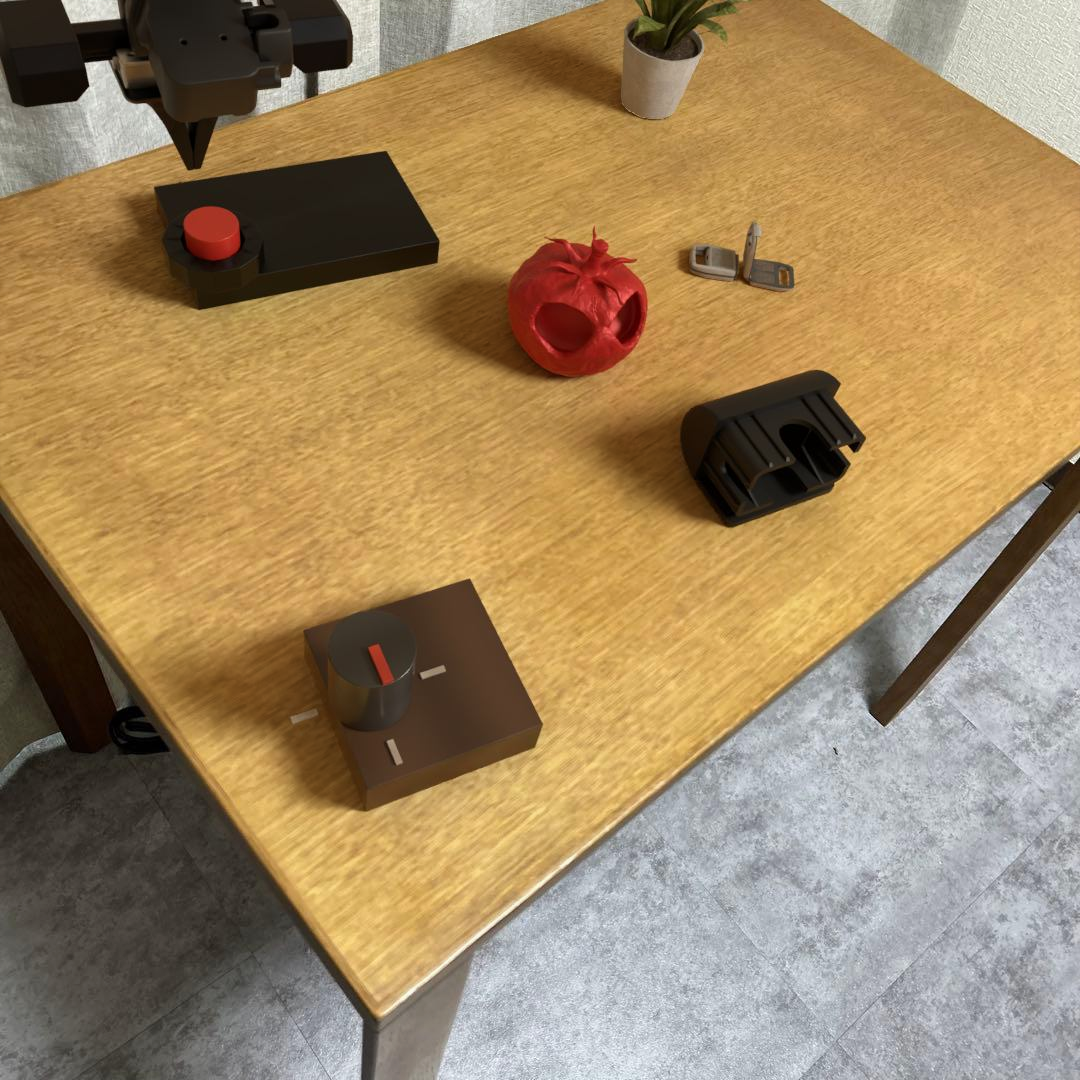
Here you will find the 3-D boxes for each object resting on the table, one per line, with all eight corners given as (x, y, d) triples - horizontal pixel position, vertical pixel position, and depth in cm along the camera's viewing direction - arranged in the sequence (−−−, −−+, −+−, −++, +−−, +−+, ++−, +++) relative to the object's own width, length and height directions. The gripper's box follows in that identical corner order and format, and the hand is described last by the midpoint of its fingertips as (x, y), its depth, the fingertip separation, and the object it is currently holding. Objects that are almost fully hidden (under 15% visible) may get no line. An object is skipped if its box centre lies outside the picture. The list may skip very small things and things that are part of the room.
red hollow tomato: (487, 299, 82) (503, 196, 75) (614, 291, 85) (641, 191, 77) (519, 399, 77) (539, 299, 69) (653, 387, 80) (686, 289, 72)
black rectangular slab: (184, 323, 76) (177, 279, 73) (140, 213, 82) (132, 168, 79) (442, 271, 83) (447, 229, 80) (385, 173, 89) (387, 130, 86)
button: (194, 265, 75) (191, 245, 73) (179, 231, 76) (177, 211, 75) (247, 256, 76) (245, 236, 74) (231, 222, 78) (230, 202, 76)
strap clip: (687, 275, 87) (702, 233, 84) (688, 250, 89) (702, 207, 86) (792, 294, 88) (811, 253, 84) (791, 269, 90) (809, 227, 86)
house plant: (691, 182, 94) (750, -4, 81) (546, 121, 96) (580, -70, 83) (744, 103, 102) (805, -78, 89) (609, 48, 104) (650, -137, 91)
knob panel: (324, 828, 58) (323, 805, 55) (264, 669, 62) (261, 640, 60) (535, 747, 62) (544, 723, 59) (465, 604, 67) (470, 576, 64)
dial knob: (316, 672, 59) (315, 622, 55) (393, 647, 61) (398, 596, 56) (344, 743, 57) (345, 696, 53) (423, 715, 59) (430, 667, 54)
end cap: (782, 416, 80) (815, 349, 74) (839, 489, 77) (878, 425, 71) (667, 454, 76) (692, 386, 71) (721, 532, 73) (753, 468, 67)
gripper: (-5, 8, 49) (63, 280, 61) (394, -28, 55) (382, 223, 68) (-51, -117, 54) (21, 157, 66) (319, -136, 61) (320, 116, 73)
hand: (192, 166), depth 68 cm, fingers closed
